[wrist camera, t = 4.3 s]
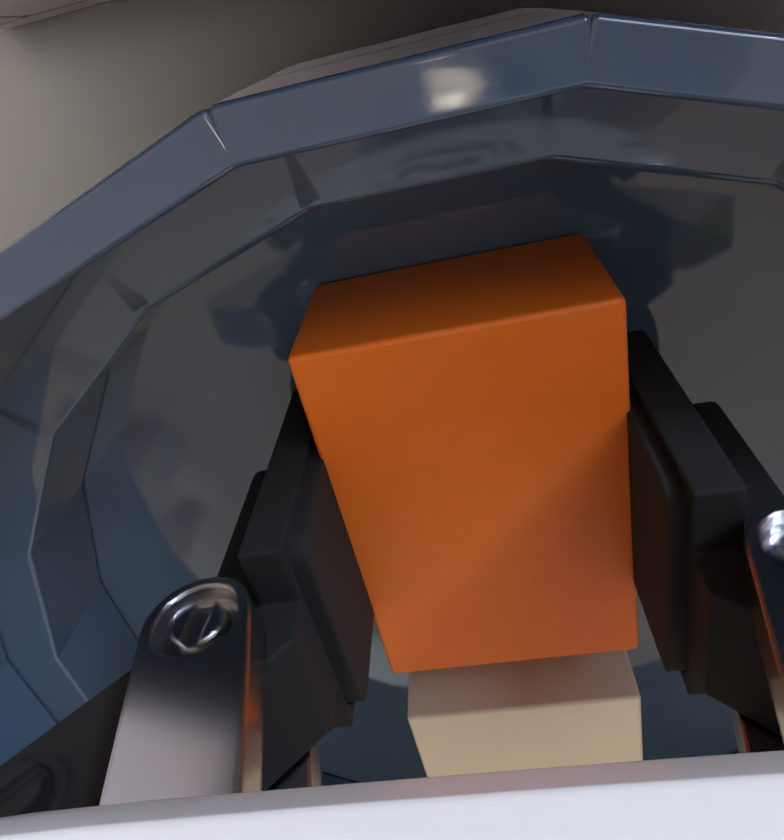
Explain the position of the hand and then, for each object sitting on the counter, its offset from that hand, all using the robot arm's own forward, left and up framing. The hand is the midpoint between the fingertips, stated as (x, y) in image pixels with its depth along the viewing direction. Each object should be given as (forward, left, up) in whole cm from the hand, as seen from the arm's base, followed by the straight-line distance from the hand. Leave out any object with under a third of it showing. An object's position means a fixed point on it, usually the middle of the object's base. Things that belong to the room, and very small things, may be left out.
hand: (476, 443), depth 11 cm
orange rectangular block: (0, 0, 0) cm, 0 cm away
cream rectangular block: (0, +7, 0) cm, 7 cm away
